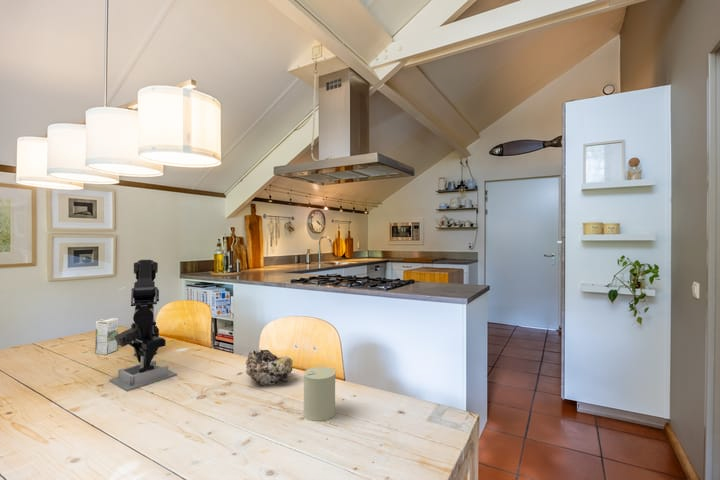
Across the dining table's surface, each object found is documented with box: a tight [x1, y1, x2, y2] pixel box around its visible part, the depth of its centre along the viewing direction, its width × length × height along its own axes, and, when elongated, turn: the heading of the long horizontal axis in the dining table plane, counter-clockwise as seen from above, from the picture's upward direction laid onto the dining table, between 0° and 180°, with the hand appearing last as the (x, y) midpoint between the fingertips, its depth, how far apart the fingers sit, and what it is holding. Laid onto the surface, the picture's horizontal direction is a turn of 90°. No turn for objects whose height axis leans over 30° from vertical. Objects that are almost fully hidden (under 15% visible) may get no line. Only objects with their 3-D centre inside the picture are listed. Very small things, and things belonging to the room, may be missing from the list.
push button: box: [134, 349, 154, 375], centre depth 120 cm, size 7×5×10 cm
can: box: [302, 366, 337, 422], centre depth 97 cm, size 9×9×12 cm
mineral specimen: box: [245, 348, 294, 386], centre depth 118 cm, size 16×18×10 cm
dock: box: [108, 359, 178, 392], centre depth 120 cm, size 14×16×4 cm
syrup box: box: [94, 317, 120, 355], centre depth 147 cm, size 6×6×14 cm
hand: (143, 363), depth 120 cm, fingers open, 5 cm apart
